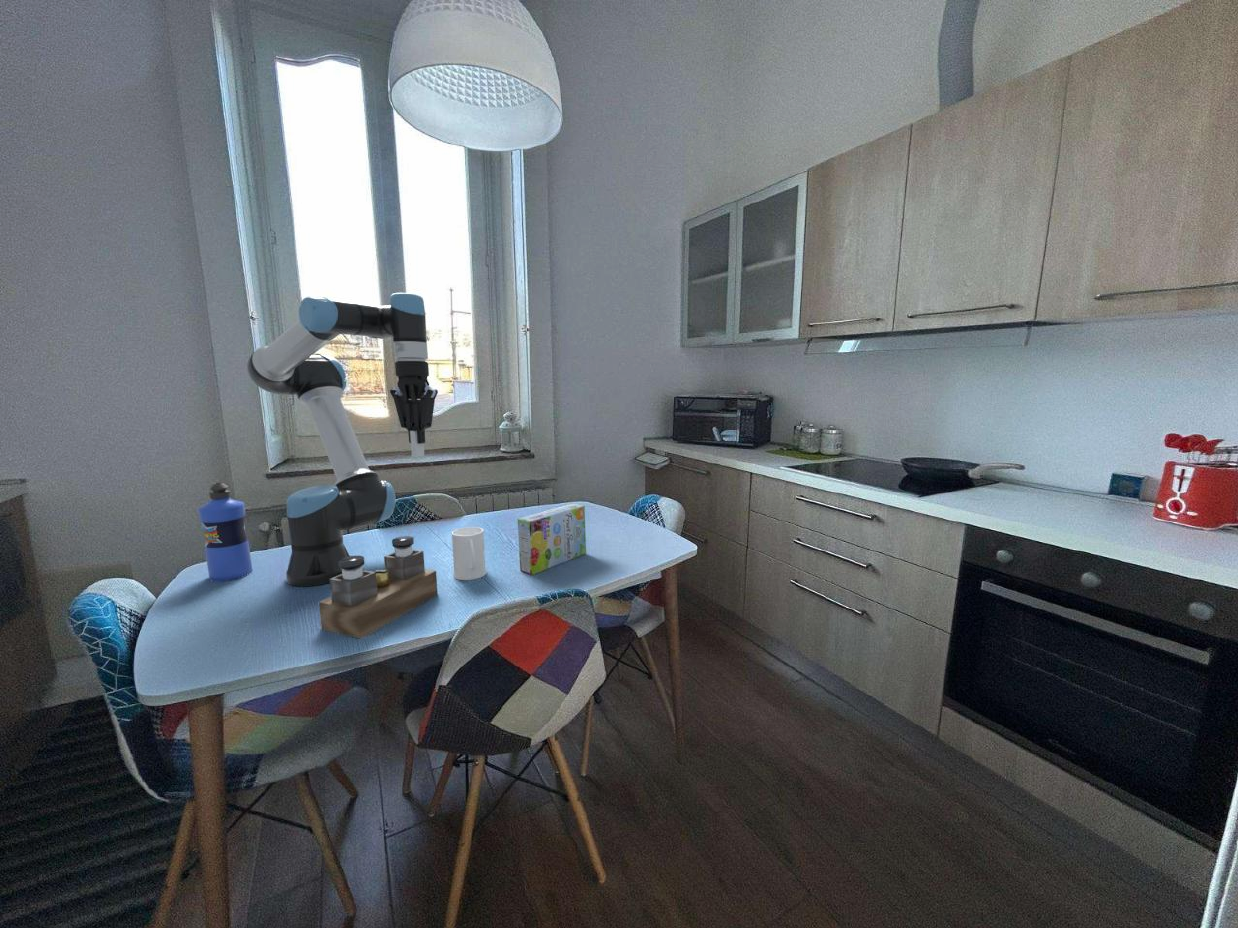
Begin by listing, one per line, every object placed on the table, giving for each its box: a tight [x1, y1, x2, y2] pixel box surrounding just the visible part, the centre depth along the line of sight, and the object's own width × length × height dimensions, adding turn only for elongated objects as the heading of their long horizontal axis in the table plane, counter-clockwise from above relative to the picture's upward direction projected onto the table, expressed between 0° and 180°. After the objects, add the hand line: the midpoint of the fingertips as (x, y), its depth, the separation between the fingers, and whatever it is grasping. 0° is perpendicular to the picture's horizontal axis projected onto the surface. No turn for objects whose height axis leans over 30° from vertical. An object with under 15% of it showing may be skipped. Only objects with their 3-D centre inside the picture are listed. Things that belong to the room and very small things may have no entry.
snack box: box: [517, 503, 587, 576], centre depth 137 cm, size 21×6×15 cm, turn 141°
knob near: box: [339, 555, 365, 582], centre depth 101 cm, size 5×5×8 cm
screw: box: [374, 569, 389, 588], centre depth 108 cm, size 3×3×3 cm
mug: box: [451, 526, 487, 581], centre depth 127 cm, size 12×8×12 cm
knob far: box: [391, 535, 415, 558], centre depth 113 cm, size 5×5×8 cm
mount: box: [318, 549, 439, 640], centre depth 108 cm, size 11×22×11 cm, turn 160°
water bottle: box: [198, 482, 253, 582], centre depth 127 cm, size 9×9×25 cm
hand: (418, 456), depth 121 cm, fingers closed
